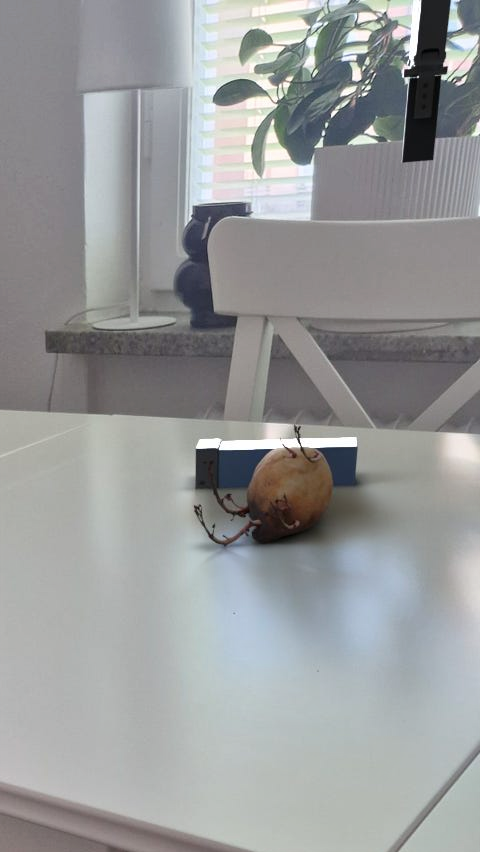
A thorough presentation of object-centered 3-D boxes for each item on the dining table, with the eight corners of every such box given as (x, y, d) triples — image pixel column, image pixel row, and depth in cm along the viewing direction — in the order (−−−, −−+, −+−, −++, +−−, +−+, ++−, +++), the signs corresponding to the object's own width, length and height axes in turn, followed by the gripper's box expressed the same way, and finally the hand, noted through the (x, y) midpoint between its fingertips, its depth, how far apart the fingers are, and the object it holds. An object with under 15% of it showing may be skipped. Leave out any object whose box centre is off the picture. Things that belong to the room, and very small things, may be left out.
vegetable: (181, 465, 102) (239, 356, 96) (290, 521, 103) (354, 416, 98) (172, 525, 89) (238, 404, 84) (297, 588, 90) (371, 472, 85)
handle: (353, 478, 106) (357, 434, 104) (354, 488, 103) (357, 444, 101) (199, 481, 109) (199, 439, 108) (195, 491, 106) (195, 448, 104)
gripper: (395, -150, 101) (371, 163, 113) (404, -184, 91) (377, 166, 103) (486, -163, 100) (453, 156, 112) (507, -199, 89) (467, 158, 101)
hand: (417, 161), depth 107 cm, fingers closed
